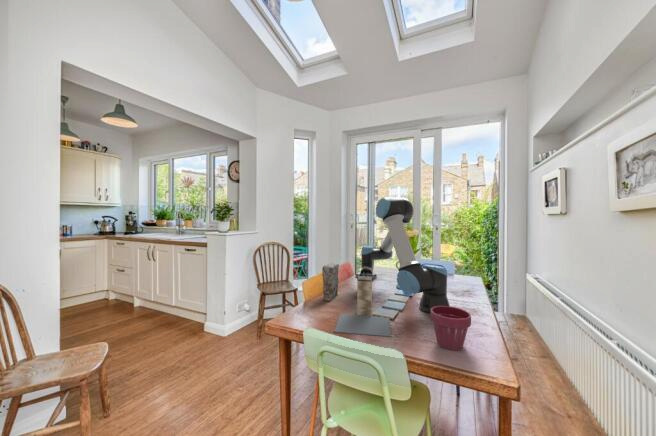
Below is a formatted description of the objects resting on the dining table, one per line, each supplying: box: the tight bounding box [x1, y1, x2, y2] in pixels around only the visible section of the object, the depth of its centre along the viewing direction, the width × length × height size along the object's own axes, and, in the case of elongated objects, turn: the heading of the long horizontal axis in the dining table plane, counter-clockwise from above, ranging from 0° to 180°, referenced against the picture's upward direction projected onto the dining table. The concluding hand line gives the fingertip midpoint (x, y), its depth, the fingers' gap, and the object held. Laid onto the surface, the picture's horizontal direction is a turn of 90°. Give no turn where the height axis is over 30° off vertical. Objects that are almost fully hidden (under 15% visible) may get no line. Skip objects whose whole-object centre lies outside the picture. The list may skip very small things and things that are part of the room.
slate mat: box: [333, 313, 393, 338], centre depth 121 cm, size 24×20×1 cm
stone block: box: [321, 262, 340, 302], centre depth 159 cm, size 13×7×20 cm, turn 164°
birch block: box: [356, 276, 373, 316], centre depth 135 cm, size 7×7×18 cm
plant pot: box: [430, 306, 472, 351], centre depth 103 cm, size 14×14×13 cm
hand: (364, 283), depth 143 cm, fingers closed
